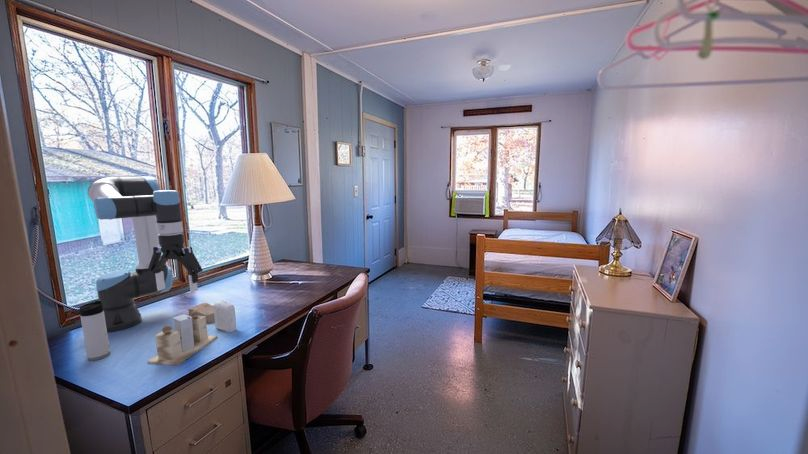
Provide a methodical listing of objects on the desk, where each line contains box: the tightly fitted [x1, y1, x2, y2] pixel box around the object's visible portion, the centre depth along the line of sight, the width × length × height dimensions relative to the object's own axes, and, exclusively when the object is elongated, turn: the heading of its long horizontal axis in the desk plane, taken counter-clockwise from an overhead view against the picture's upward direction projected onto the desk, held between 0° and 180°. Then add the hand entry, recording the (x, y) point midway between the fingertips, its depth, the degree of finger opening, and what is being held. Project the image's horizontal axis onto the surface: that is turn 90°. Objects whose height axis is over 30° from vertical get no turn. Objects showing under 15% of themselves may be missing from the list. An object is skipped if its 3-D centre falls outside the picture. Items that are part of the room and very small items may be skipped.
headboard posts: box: [146, 311, 218, 366], centre depth 127 cm, size 12×20×13 cm, turn 171°
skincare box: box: [172, 313, 194, 352], centre depth 127 cm, size 6×4×12 cm
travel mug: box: [78, 300, 111, 361], centre depth 123 cm, size 6×7×20 cm
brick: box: [187, 302, 215, 324], centre depth 157 cm, size 17×8×5 cm, turn 60°
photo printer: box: [213, 300, 237, 333], centre depth 144 cm, size 10×4×12 cm, turn 60°
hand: (177, 290), depth 125 cm, fingers open, 13 cm apart
